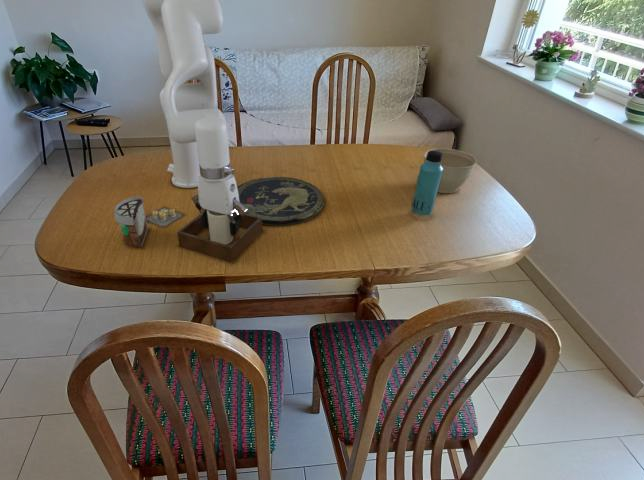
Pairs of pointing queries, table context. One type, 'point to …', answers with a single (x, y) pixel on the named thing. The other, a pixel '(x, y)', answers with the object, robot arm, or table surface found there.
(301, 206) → the decorative plate
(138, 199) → the food container
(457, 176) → the planter bowl
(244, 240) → the wooden box
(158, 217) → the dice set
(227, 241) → the cup
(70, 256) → the table surface
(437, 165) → the beverage bottle
